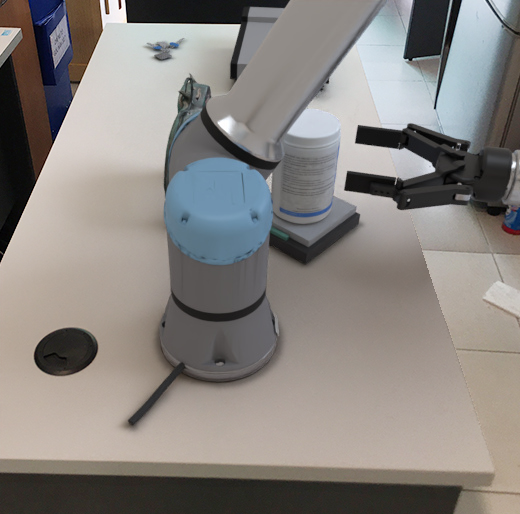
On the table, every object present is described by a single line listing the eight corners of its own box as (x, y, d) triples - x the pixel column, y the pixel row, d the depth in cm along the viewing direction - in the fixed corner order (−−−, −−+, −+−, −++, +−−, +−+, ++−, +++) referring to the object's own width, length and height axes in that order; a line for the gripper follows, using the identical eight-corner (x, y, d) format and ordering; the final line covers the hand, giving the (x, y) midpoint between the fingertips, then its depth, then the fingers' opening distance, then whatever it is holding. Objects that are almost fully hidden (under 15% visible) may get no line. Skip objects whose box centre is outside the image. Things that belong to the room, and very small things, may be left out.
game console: (229, 95, 136) (230, 57, 131) (243, 40, 160) (244, 6, 154) (326, 100, 134) (331, 62, 129) (325, 44, 158) (329, 10, 152)
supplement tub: (343, 214, 98) (357, 126, 88) (295, 234, 94) (304, 145, 84) (304, 185, 104) (313, 101, 94) (257, 203, 100) (261, 117, 90)
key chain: (169, 61, 149) (168, 58, 149) (136, 58, 151) (136, 54, 150) (185, 40, 159) (185, 36, 159) (154, 37, 161) (153, 34, 160)
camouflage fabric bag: (186, 165, 115) (182, 56, 101) (221, 169, 114) (221, 59, 100) (159, 229, 100) (150, 112, 87) (199, 234, 99) (196, 116, 86)
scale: (305, 264, 94) (307, 247, 92) (236, 226, 101) (236, 209, 99) (358, 224, 101) (361, 207, 99) (290, 191, 108) (292, 175, 106)
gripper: (502, 252, 80) (336, 226, 84) (493, 156, 98) (356, 139, 102) (522, 203, 75) (344, 178, 79) (508, 111, 93) (363, 94, 97)
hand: (350, 156), depth 91 cm, fingers open, 13 cm apart
